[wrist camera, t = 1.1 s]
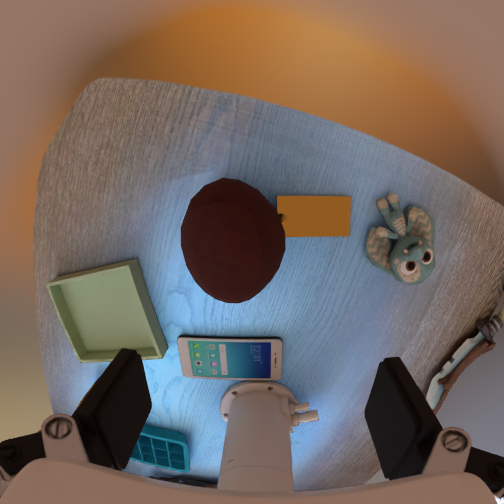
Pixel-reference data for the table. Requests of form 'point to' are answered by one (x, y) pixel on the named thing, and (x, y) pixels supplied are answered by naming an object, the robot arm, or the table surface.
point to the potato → (232, 240)
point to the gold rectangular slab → (314, 215)
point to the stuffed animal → (402, 242)
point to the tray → (108, 312)
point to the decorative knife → (463, 360)
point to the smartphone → (231, 357)
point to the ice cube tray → (162, 449)
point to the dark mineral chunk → (187, 482)
